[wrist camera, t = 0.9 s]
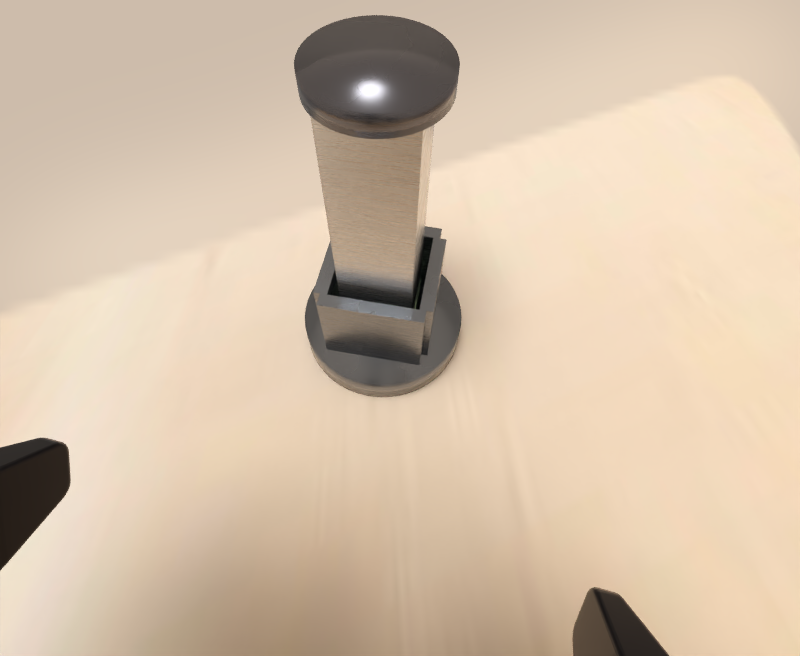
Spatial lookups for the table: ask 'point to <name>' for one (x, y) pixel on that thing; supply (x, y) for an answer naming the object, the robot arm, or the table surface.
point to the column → (376, 144)
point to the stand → (385, 330)
